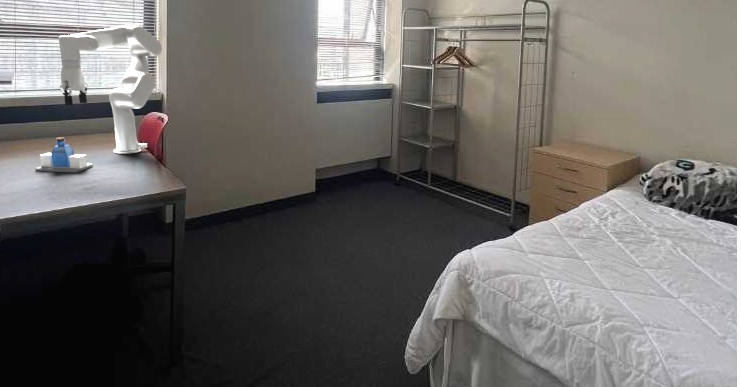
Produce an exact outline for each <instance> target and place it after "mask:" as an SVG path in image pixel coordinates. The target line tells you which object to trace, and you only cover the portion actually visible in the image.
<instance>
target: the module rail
mask: <svg viewBox="0 0 741 387" xmlns="http://www.w3.org/2000/svg"><path fill="white" fill-rule="evenodd" d="M51 153H52V152H46V153H43V154H42V153H41V154H39V159H40V166H39V167H36V168H35V169H34V170H35V171H37V172H38V171H39V172H57V173H58V172H59V173H76V174H77V173H78V172H81V171H82V172H83V171H84V170H86V169H90V168H93V166H94V165H93V163H89V162H88V158H87V154H79V153H77V154H74V155H73V156H69V161H70V167H54V166H53V160H52V155H51Z"/></svg>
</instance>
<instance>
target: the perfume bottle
mask: <svg viewBox="0 0 741 387" xmlns="http://www.w3.org/2000/svg"><path fill="white" fill-rule="evenodd" d="M55 140H56V141H55V144H56V145H55V146H54V147H53V149H52V151H51V152H50V153H51V155H52V160H53V166H54V167H70V161H69V156H73V155H75V153H74V148H72V147H71V146H70V144H66V140H65V137H61V136H60V137H59V136H58V137H56V138H55Z"/></svg>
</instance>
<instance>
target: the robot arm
mask: <svg viewBox="0 0 741 387" xmlns="http://www.w3.org/2000/svg"><path fill="white" fill-rule="evenodd" d="M58 42H59V44H58V45H59V53H60V60H61V69H60V70H61V72H60V81H61V83H60V85H59V89H60V90H61V92H60V93H62V95H63V98H64V104H65V106H73V105H74V102H73V96H72V93H73V92H78V100H79V103H80V104H87V103H88V99H87V93H88V92H87V91H88V87H89V86H88V85H89V84H88V83H87V82H86V81H85V76H84V71H83V68H82V66H83V65H82V59H81V53H83V54H92V53H95V52H96V51H97V50H98V49H109V48H110V49H111V48H114V47H119V46H123V45H127V44H128V45H129V46H128V47H129V52H130V55H131V64H130V66H129V67H128V69H127V70H126V72H125V73H124V76H123V77H122V81H121V84H122V87H117V88H113V89H112V90H111V91H110V93H109V96H108V98H109V102H110V106H111V109H112V116H113V124H114V133H115V135H114V136H115V144H116V148H115V149H113V153H115V154H119V155H121V154H123V155H124V154H125V155H127V154H135V153H140V152H141V151H142V149H141V148H148V143H144V142H143V143H140V142H138V139H137V138H138V137H137V129H136V118H135V114H134V111H133V109H141V108H143V107H145V105H146V104H147V102H148V100H149V99H150V96H151V95H152V93H153V91H154V89H155V84H156V83H155V82H156V80H155V77H154V75H152V74H151V73H150V72H149V70H150V66H149V61H148V59H147V57H158V56H159V55H160V54H161V53H162V51H163V50H162V49H163V48H162V44H161V42H160V41H159V39H158V38H156V37H155V36H154V35H152V34H151V33H150V31H148V30H147V29H146V28H144V27H142V26H140V25H135V24H134V25H130V24H128V25H127V24H125V25H119V26H114V27H110V28H104V29H96V30H93V31H86V32H85V31H84V32H79V33H73V34H70V35H69V34H68V35H65V34H64V35H60V36H59V37H58Z"/></svg>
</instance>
